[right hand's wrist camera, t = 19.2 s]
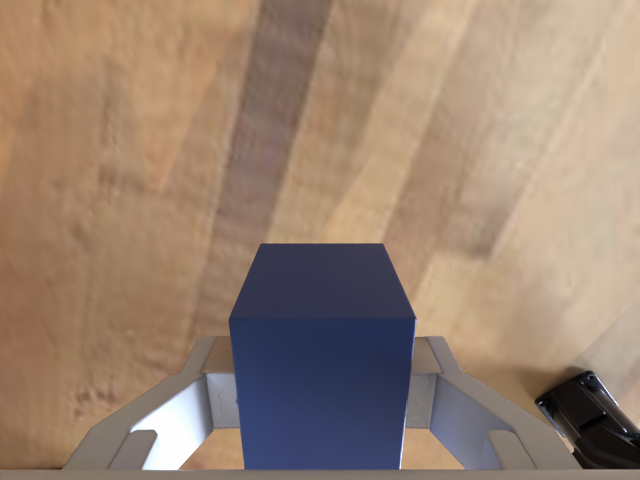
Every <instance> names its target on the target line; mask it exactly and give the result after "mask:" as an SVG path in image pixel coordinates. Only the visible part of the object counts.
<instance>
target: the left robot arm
mask: <svg viewBox="0 0 640 480" xmlns="http://www.w3.org/2000/svg"><path fill="white" fill-rule="evenodd" d="M535 404H536V405H537V407H538V408H539V409H540V410H541V412H542V413H543V414H544V415H545V416H546V418H547V419H548V420H549V421H550V422H551V424H552V425H553V426H554V427H555V428H556V430H557V431H558V432H559V433H560V434H561V435H562V437H566V438H567V439H568V440H569V442H570V443H571V445H572V446H573V447H574V452H573V453H572V455H573V456H574V458H575V459H576V460H577V462H578V463H579V465H580V466H581V467H582V469H640V430H639V429H638V428H637V426H636V425H635V424H634V423H633V422H632V421H631V420H630V419H629V418H628V417H627V416H626V415H625V414H624V413H623V412H622V411H621V410H620V409H619V406H618V405H617V403H616V402H615V401H614V399H613V398H612V397H611V395H610V394H609V392H608V391H607V390H606V388H605V387H604V386H603V384H602V383H601V381H600V380H599V379H598V377H597V376H596V375H595V374H594V373H593V372H592V371H586V372H584V373H583V374H581V375H579V376H577V377H575V378H574V379H572V380H570V381H568V382H567V383H565V384H563V385H561V386H559V387H558V388H556V389H554V390H552V391H550V392H549V393H547V394H545V395H543V396H542V397H540V398H538V399H537V400H536V401H535Z"/></svg>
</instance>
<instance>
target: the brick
mask: <svg viewBox="0 0 640 480" xmlns="http://www.w3.org/2000/svg"><path fill="white" fill-rule="evenodd" d="M416 322H417V319H416V316H415V314H414V312H413V309H412V307H411V305H410V303H409V300H408V298H407V296H406V294H405V292H404V289H403V287H402V285H401V283H400V280H399V278H398V276H397V274H396V271H395V269H394V267H393V265H392V262H391V260H390V258H389V256H388V253H387V251H386V249H385V247H384V244H260V246H259V249H258V251H257V253H256V256H255V258H254V261H253V263H252V265H251V268H250V270H249V272H248V275H247V277H246V279H245V282H244V284H243V287H242V289H241V291H240V294H239V296H238V298H237V301H236V303H235V305H234V308H233V310H232V313H231V315H230V317H229V327H230V337H231V346H232V355H233V365H234V374H235V384H236V393H237V402H238V412H239V421H240V430H241V440H242V449H243V458H244V468H245V470H348V469H383V470H400V467H401V458H402V449H403V440H404V431H405V422H406V413H407V404H408V394H409V385H410V376H411V367H412V358H413V349H414V340H415V331H416Z"/></svg>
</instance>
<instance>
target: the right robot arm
mask: <svg viewBox="0 0 640 480" xmlns="http://www.w3.org/2000/svg"><path fill="white" fill-rule="evenodd" d="M223 428H240V421H239V412H238V402H237V393H236V384H235V374H234V365H233V355H232V346H231V337H230V336H218V337H217V336H201V337H199V338H198V339H197V341H196V343H195V345H194V347H193V349H192V351H191V353H190V355H189V356H188V358H187V360H186V362H185V364H184V366H183V368H182V370H181V372H180V374H173V375H172V376H170V377H169V378H167V379H165V380H164V381H162V382H161V383H159V384H158V385H156V386H155V387H153V388H152V389H150V390H149V391H147V392H145V393H144V394H142V395H141V396H139V397H138V398H136V399H135V400H133V401H132V402H130V403H128V404H127V405H125V406H124V407H122V408H121V409H119V410H118V411H116V412H115V413H113V414H112V415H110V416H108V417H107V418H105V419H104V420H102V421H101V422H99V423H98V424H96V425H95V426H93V427H92V428H91V429H90V430H89V431H88V433H87V434H86V436H85V437H84V438H83V440H82V441H81V443H80V444H79V445H78V447H77V448H76V450H75V451H74V452H73V454H72V455H71V457H70V458H69V459H68V461H67V462H66V464H65V465H64V467H63V468H62V469H61V470H0V480H640V469H582V467H581V466H580V465H579V463H578V462H577V460H576V459H575V458H574V456H573V455H572V453H571V452H570V451H569V449H568V448H567V446H566V445H565V444H564V442H563V441H562V439H561V438H560V437H559V435H558V434H557V433H556V431H555V430H554V428H552V427H551V426H549V425H547V424H546V423H544V422H543V421H541V420H540V419H538V418H537V417H535V416H534V415H532V414H530V413H529V412H527V411H526V410H524V409H523V408H521V407H520V406H518V405H516V404H515V403H513V402H512V401H510V400H509V399H507V398H506V397H504V396H503V395H501V394H499V393H498V392H496V391H495V390H493V389H492V388H490V387H489V386H487V385H486V384H484V383H482V382H481V381H479V380H478V379H476V378H475V377H473V376H472V375H470V374H464V373H463V371H462V370H461V368H460V366H459V364H458V362H457V360H456V359H455V357H454V355H453V353H452V351H451V349H450V347H449V346H448V344H447V342H446V340H445V338H444V337H442V336H425V337H415V340H414V349H413V358H412V367H411V376H410V385H409V394H408V404H407V413H406V422H405V428H420V429H430V431H431V432H432V433H433V434H434V436H435V437H436V438H437V439H438V440H439V441H440V442H441V443H442V444H443V445H444V446H445V447H446V448H447V449H448V450H449V452H450V453H451V454H452V455H453V456H454V457H455V458H456V459H457V460H458V461H459V462H460V463H461V464H462V465H463V467H464V468H465V469H466V470H383V469H348V470H177V469H178V468H179V467H180V466H181V465H182V464H183V463H184V462H185V461H186V459H187V458H188V457H189V456H190V455H191V454H192V453H193V452H194V451H195V450H196V449H197V448H198V447H199V445H200V444H201V443H202V442H203V441H204V440H205V439H206V438H207V437H208V436H209V435H210V434H211V433H212V432H213V429H223Z"/></svg>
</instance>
